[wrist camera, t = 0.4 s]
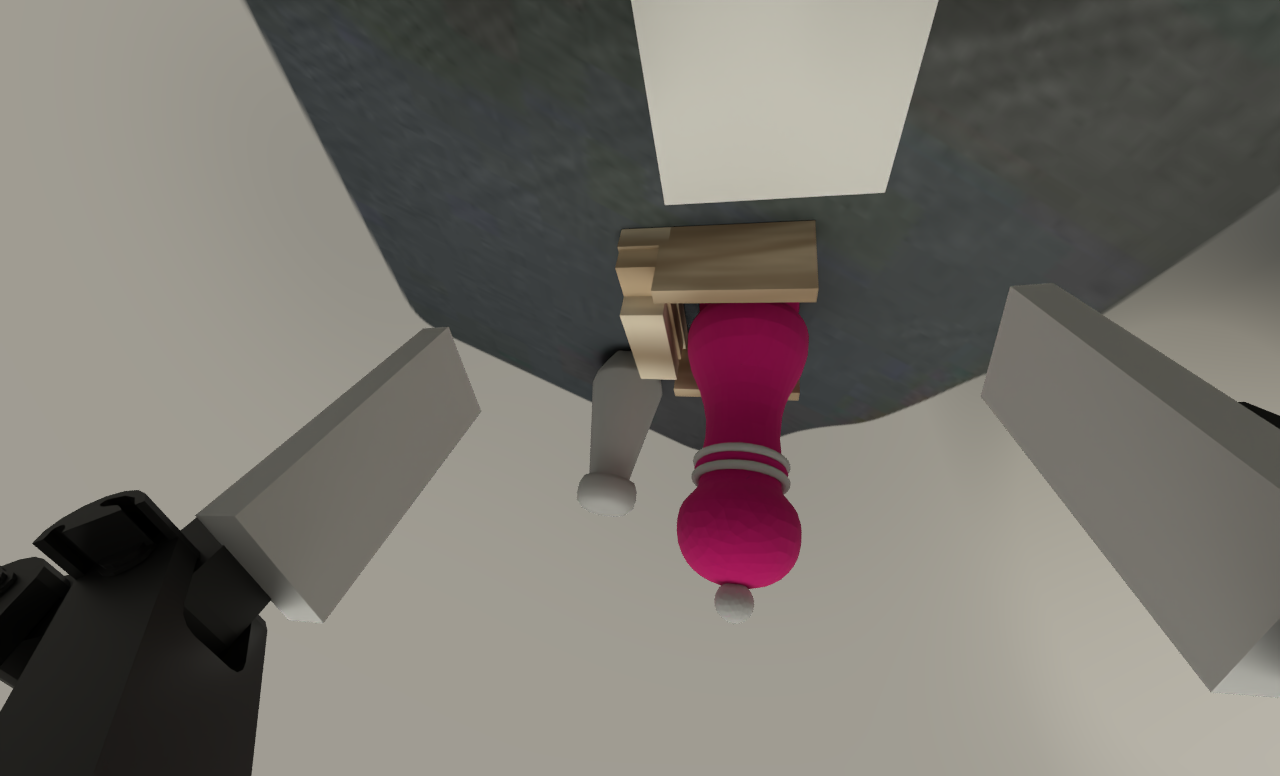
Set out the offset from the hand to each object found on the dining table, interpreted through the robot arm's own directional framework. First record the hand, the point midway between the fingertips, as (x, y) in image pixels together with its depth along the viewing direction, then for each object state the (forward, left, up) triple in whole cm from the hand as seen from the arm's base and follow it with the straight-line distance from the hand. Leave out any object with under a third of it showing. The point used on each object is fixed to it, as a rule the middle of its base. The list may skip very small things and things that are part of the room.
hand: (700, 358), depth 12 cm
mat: (+1, +2, -16) cm, 16 cm away
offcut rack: (+14, -1, -16) cm, 21 cm away
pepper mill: (+14, +1, -16) cm, 21 cm away
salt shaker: (+23, -9, -16) cm, 30 cm away
